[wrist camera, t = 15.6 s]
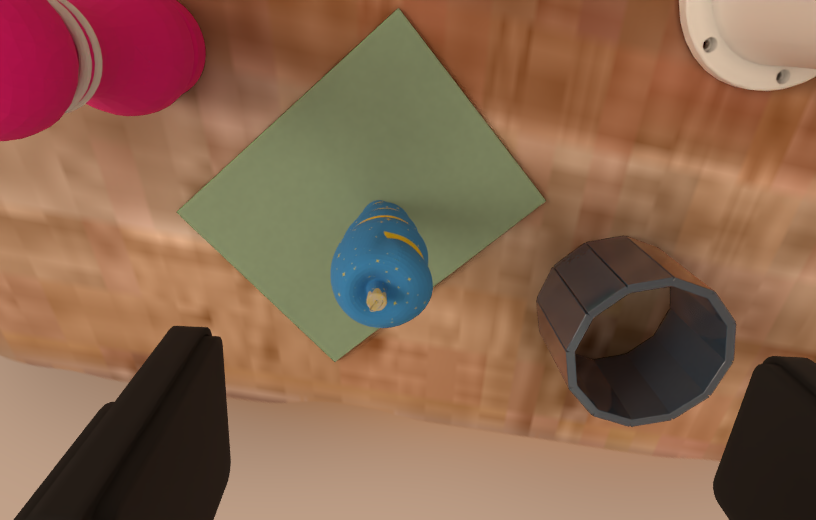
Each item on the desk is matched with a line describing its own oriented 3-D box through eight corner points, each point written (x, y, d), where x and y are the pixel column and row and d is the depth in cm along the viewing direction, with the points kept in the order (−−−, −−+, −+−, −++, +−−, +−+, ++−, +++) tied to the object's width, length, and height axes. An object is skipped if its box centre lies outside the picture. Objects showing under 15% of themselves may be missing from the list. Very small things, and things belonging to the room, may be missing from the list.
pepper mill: (197, 123, 36) (-1, 217, 18) (84, 79, 35) (-258, 130, 16) (228, 12, 34) (35, -16, 15) (107, -41, 32) (-264, -140, 14)
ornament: (434, 216, 39) (461, 318, 25) (375, 257, 40) (370, 377, 26) (390, 157, 37) (393, 231, 23) (330, 201, 38) (298, 297, 24)
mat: (398, 7, 34) (398, 7, 34) (544, 199, 39) (546, 201, 39) (178, 210, 38) (176, 212, 38) (335, 359, 43) (334, 362, 43)
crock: (631, 208, 39) (683, 245, 32) (703, 310, 43) (764, 363, 36) (509, 297, 42) (534, 349, 35) (586, 387, 45) (622, 451, 38)
